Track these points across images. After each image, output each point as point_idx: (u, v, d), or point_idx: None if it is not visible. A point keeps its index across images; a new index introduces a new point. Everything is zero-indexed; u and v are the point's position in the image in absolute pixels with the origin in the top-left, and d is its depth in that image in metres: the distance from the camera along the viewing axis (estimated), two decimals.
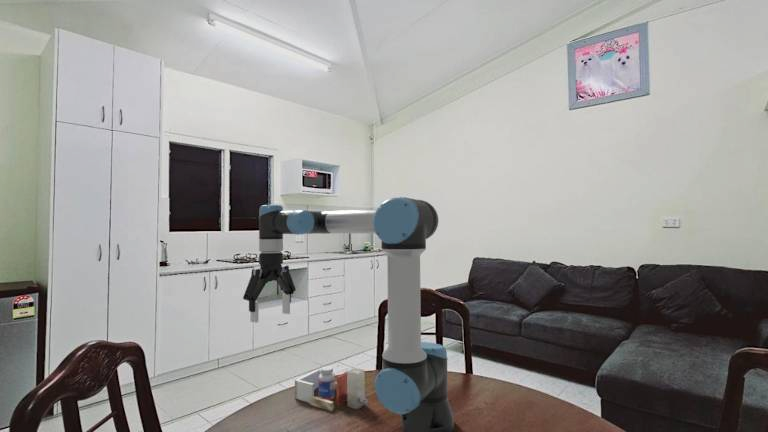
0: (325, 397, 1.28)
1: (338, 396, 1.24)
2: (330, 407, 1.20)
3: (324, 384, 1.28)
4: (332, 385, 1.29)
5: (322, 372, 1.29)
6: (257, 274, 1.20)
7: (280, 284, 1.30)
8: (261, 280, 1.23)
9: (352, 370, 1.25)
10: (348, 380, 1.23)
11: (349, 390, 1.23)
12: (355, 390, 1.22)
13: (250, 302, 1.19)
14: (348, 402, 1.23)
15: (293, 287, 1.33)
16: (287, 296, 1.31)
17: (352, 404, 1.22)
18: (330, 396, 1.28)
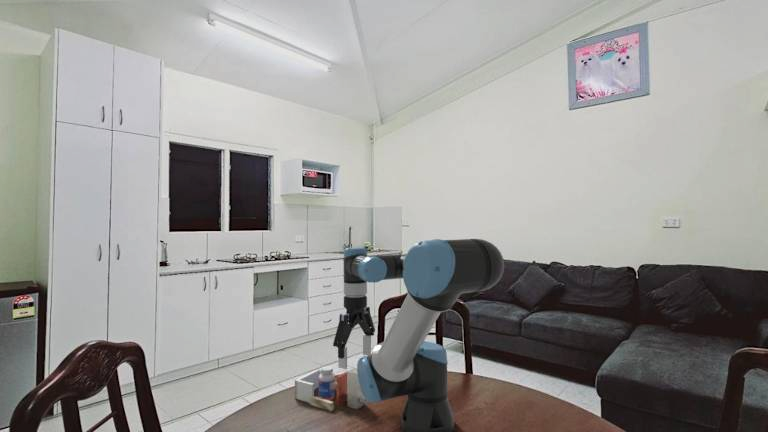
0: (325, 397, 1.28)
1: (338, 396, 1.24)
2: (330, 407, 1.20)
3: (324, 384, 1.28)
4: (332, 385, 1.29)
5: (322, 372, 1.29)
6: (346, 320, 1.19)
7: (362, 326, 1.29)
8: (348, 325, 1.22)
9: (352, 370, 1.25)
10: (348, 380, 1.23)
11: (349, 390, 1.23)
12: (355, 390, 1.22)
13: (339, 348, 1.18)
14: (348, 402, 1.23)
15: (373, 328, 1.32)
16: (368, 338, 1.30)
17: (352, 404, 1.22)
18: (330, 396, 1.28)
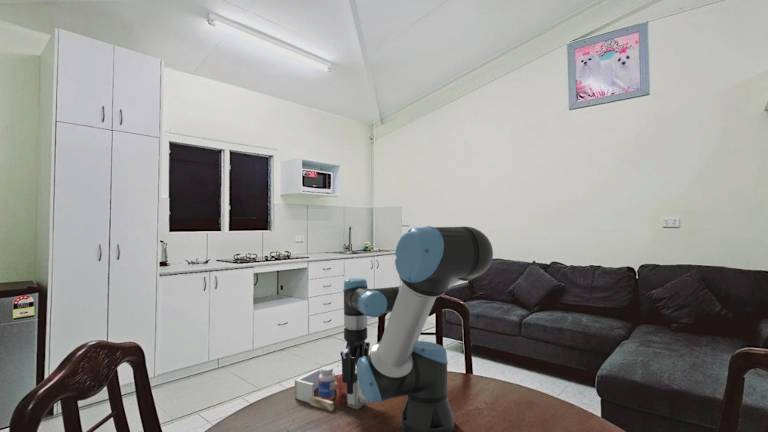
0: (325, 397, 1.28)
1: (338, 396, 1.24)
2: (330, 407, 1.20)
3: (324, 384, 1.28)
4: (332, 385, 1.29)
5: (322, 372, 1.29)
6: (348, 358, 1.19)
7: None
8: (351, 359, 1.22)
9: None
10: None
11: None
12: None
13: (348, 384, 1.21)
14: None
15: None
16: None
17: (352, 404, 1.22)
18: (330, 396, 1.28)
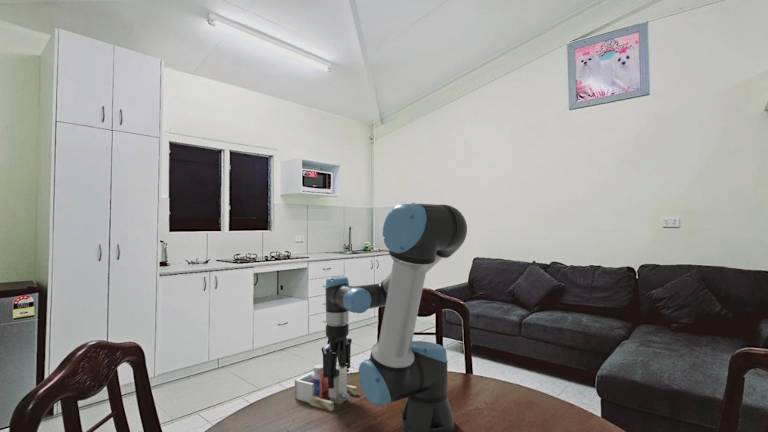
0: (317, 395, 1.29)
1: (321, 391, 1.28)
2: (330, 407, 1.20)
3: (316, 382, 1.29)
4: None
5: (314, 370, 1.31)
6: (328, 353, 1.23)
7: (340, 358, 1.30)
8: (332, 355, 1.26)
9: None
10: None
11: None
12: (337, 386, 1.25)
13: (329, 379, 1.25)
14: None
15: (349, 364, 1.32)
16: None
17: (334, 399, 1.26)
18: None
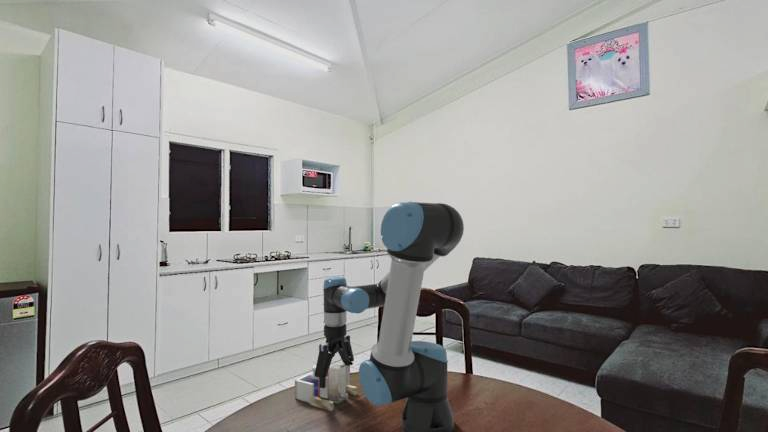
0: (316, 394, 1.29)
1: None
2: (330, 407, 1.20)
3: (315, 381, 1.30)
4: None
5: (313, 370, 1.31)
6: (325, 350, 1.23)
7: (342, 355, 1.32)
8: (328, 354, 1.26)
9: (333, 366, 1.28)
10: (329, 376, 1.27)
11: (330, 385, 1.27)
12: (336, 385, 1.26)
13: (321, 378, 1.22)
14: (329, 397, 1.27)
15: (352, 357, 1.35)
16: (347, 367, 1.33)
17: (333, 399, 1.26)
18: None
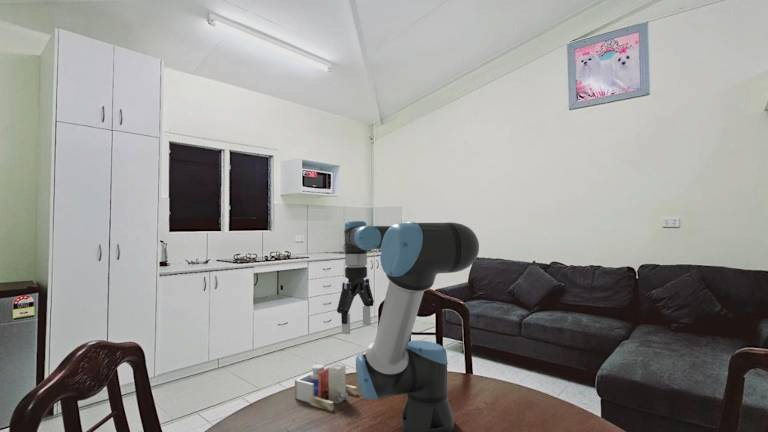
0: (316, 394, 1.29)
1: (320, 391, 1.28)
2: (330, 407, 1.20)
3: (315, 381, 1.30)
4: None
5: (313, 370, 1.31)
6: (348, 287, 1.25)
7: (362, 297, 1.36)
8: (350, 293, 1.28)
9: (333, 366, 1.28)
10: (329, 376, 1.27)
11: (330, 385, 1.27)
12: (336, 385, 1.26)
13: (343, 315, 1.24)
14: (329, 397, 1.27)
15: (372, 299, 1.39)
16: (368, 308, 1.37)
17: (333, 399, 1.26)
18: None
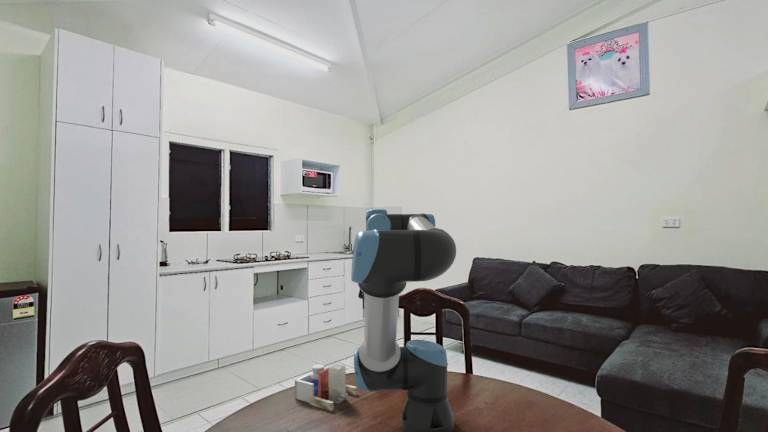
0: (316, 394, 1.29)
1: (320, 391, 1.28)
2: (330, 407, 1.20)
3: (315, 381, 1.30)
4: None
5: (313, 370, 1.31)
6: None
7: None
8: None
9: (333, 366, 1.28)
10: (329, 376, 1.27)
11: (330, 385, 1.27)
12: (336, 385, 1.26)
13: (364, 300, 1.28)
14: (329, 397, 1.27)
15: None
16: None
17: (333, 399, 1.26)
18: None
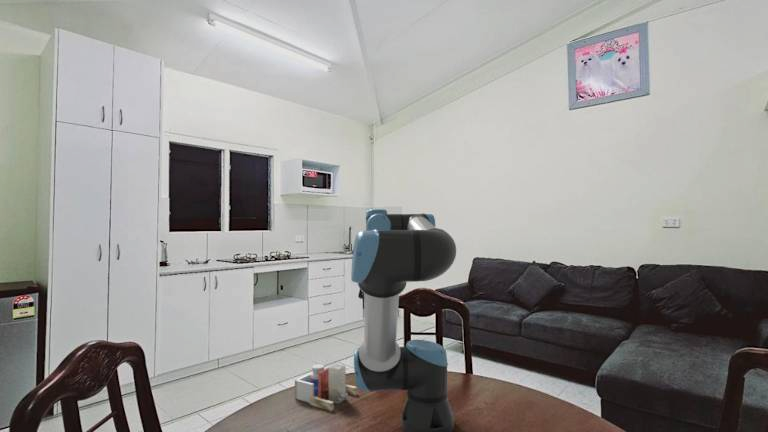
0: (316, 394, 1.29)
1: (320, 391, 1.28)
2: (330, 407, 1.20)
3: (315, 381, 1.30)
4: None
5: (313, 370, 1.31)
6: None
7: None
8: None
9: (333, 366, 1.28)
10: (329, 376, 1.27)
11: (330, 385, 1.27)
12: (336, 385, 1.26)
13: (364, 300, 1.28)
14: (329, 397, 1.27)
15: None
16: None
17: (333, 399, 1.26)
18: None
